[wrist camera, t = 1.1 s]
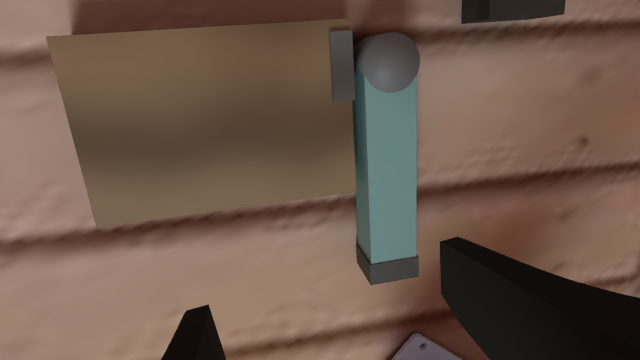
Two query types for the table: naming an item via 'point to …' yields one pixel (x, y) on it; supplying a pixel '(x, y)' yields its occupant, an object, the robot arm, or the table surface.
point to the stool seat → (220, 112)
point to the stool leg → (386, 155)
